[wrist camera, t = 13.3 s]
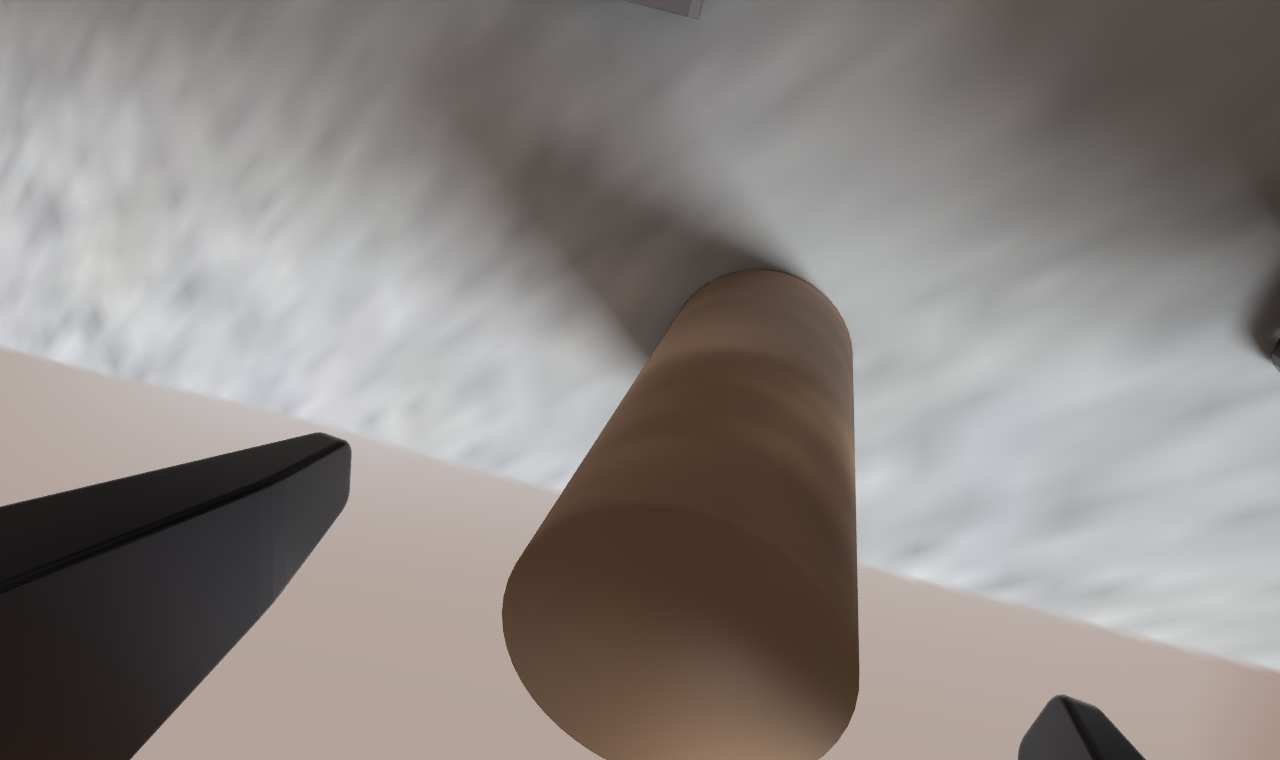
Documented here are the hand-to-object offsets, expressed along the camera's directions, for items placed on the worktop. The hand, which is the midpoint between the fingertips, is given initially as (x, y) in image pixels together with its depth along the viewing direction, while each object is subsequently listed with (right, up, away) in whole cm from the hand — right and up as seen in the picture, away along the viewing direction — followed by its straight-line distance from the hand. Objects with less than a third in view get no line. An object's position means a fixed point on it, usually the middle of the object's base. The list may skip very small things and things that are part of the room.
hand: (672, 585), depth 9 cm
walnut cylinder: (+2, +3, +7) cm, 8 cm away
